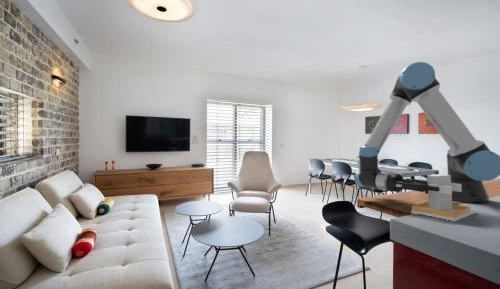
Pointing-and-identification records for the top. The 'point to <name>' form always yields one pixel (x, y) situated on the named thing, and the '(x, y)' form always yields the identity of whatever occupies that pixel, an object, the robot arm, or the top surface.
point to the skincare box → (439, 199)
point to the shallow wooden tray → (444, 211)
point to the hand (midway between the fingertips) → (456, 189)
